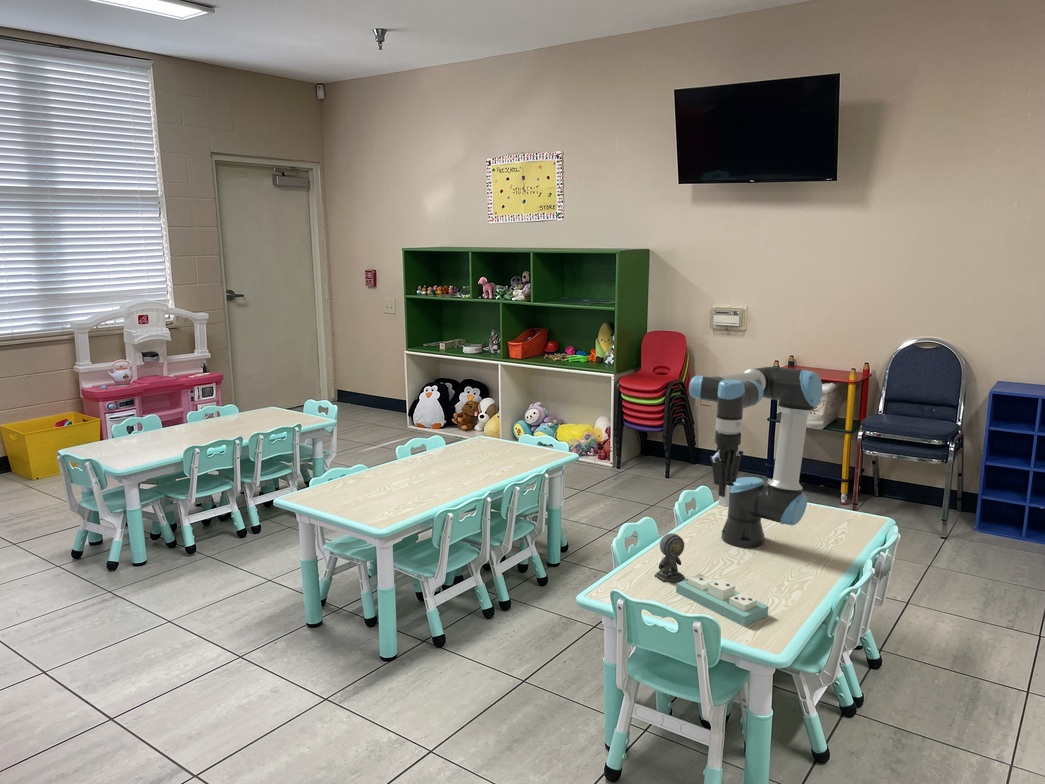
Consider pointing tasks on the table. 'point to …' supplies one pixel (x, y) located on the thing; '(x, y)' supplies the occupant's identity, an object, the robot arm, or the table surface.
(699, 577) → the tile
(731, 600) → the tile
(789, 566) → the table surface
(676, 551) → the figurine
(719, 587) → the tile
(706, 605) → the board
